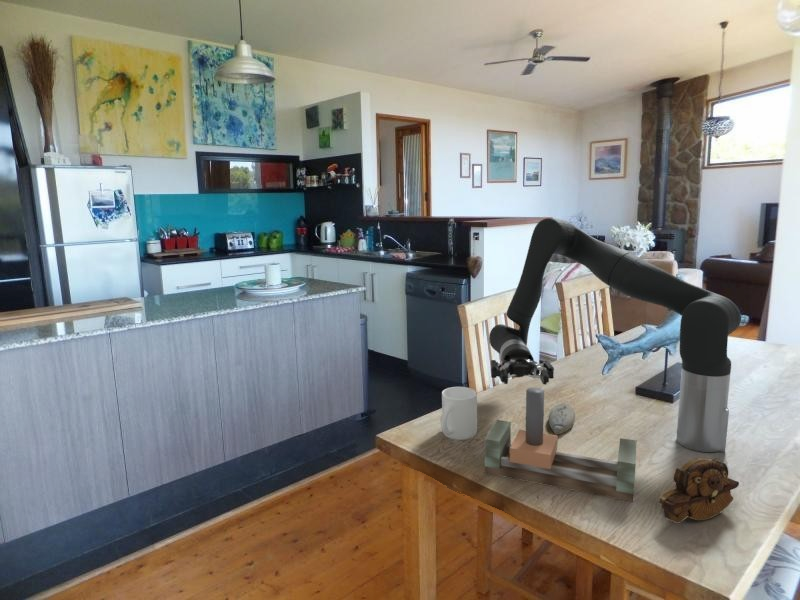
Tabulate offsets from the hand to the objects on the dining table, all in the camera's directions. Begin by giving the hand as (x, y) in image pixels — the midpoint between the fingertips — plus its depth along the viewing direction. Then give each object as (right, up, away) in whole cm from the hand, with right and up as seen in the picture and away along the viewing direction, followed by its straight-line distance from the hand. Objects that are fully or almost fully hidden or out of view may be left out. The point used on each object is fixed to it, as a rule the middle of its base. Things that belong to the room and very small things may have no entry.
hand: (525, 380), depth 117 cm
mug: (-15, -15, +8) cm, 22 cm away
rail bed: (+4, -18, -10) cm, 21 cm away
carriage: (0, -14, -9) cm, 17 cm away
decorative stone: (+12, -13, +13) cm, 22 cm away
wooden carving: (+24, -20, -25) cm, 40 cm away
